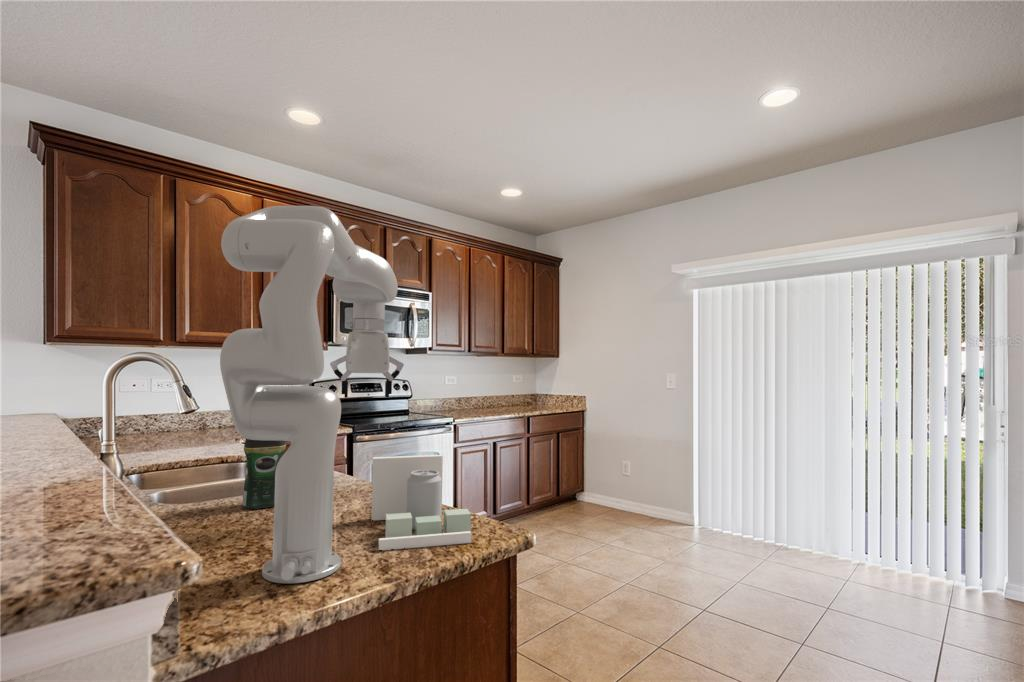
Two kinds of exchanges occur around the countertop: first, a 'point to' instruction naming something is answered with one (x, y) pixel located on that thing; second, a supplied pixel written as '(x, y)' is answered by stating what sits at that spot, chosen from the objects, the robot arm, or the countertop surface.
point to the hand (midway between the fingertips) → (366, 397)
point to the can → (424, 494)
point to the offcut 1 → (398, 525)
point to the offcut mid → (428, 525)
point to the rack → (405, 498)
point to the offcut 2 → (457, 520)
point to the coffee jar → (261, 472)
